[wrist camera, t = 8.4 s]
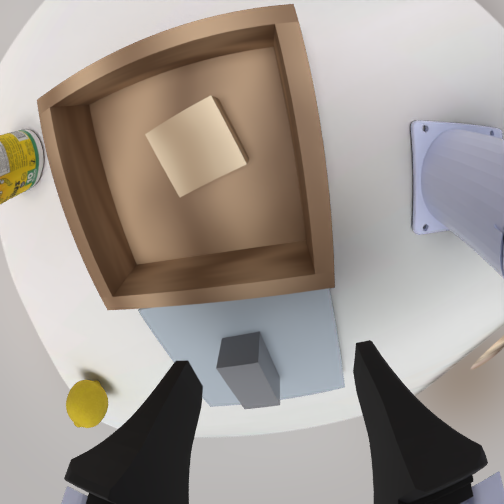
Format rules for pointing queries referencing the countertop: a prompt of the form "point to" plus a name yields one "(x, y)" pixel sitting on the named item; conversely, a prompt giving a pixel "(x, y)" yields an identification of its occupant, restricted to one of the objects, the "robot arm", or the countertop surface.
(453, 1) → the countertop surface
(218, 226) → the box
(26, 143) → the supplement bottle
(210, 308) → the lid
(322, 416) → the countertop surface
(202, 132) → the block
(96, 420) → the lemon
